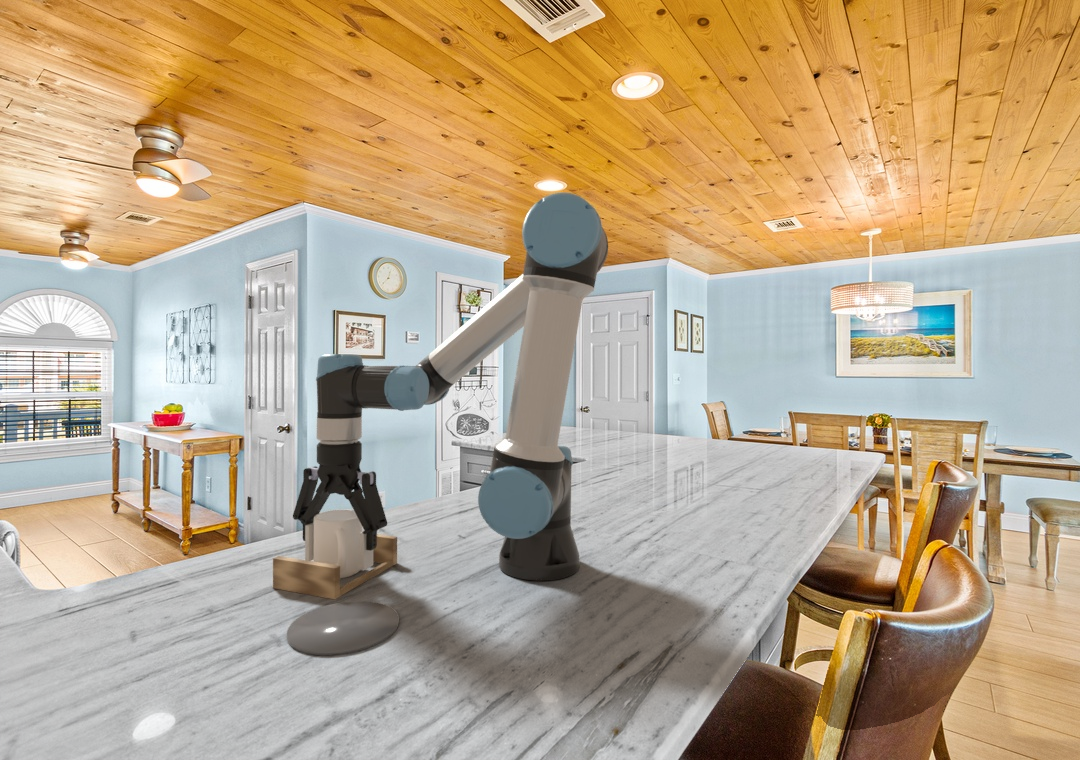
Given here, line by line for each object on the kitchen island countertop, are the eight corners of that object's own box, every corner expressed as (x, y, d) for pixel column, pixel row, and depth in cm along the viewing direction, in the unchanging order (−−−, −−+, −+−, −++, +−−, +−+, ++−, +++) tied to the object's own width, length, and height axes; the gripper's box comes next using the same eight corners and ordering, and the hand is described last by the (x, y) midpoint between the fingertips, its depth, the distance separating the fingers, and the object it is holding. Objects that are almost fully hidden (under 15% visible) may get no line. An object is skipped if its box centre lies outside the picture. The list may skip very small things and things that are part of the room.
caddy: (397, 563, 104) (397, 536, 104) (334, 599, 88) (335, 568, 88) (342, 554, 109) (342, 529, 108) (272, 588, 92) (273, 558, 92)
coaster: (418, 614, 83) (418, 610, 83) (354, 664, 69) (354, 659, 69) (336, 599, 88) (336, 595, 88) (261, 643, 74) (261, 638, 74)
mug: (367, 583, 95) (367, 524, 94) (315, 591, 91) (315, 529, 91) (359, 560, 105) (359, 507, 105) (312, 566, 102) (312, 511, 102)
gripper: (408, 442, 97) (407, 564, 98) (301, 435, 105) (301, 548, 106) (383, 447, 90) (382, 580, 91) (270, 439, 98) (270, 561, 98)
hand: (338, 563), depth 98 cm, fingers open, 11 cm apart
